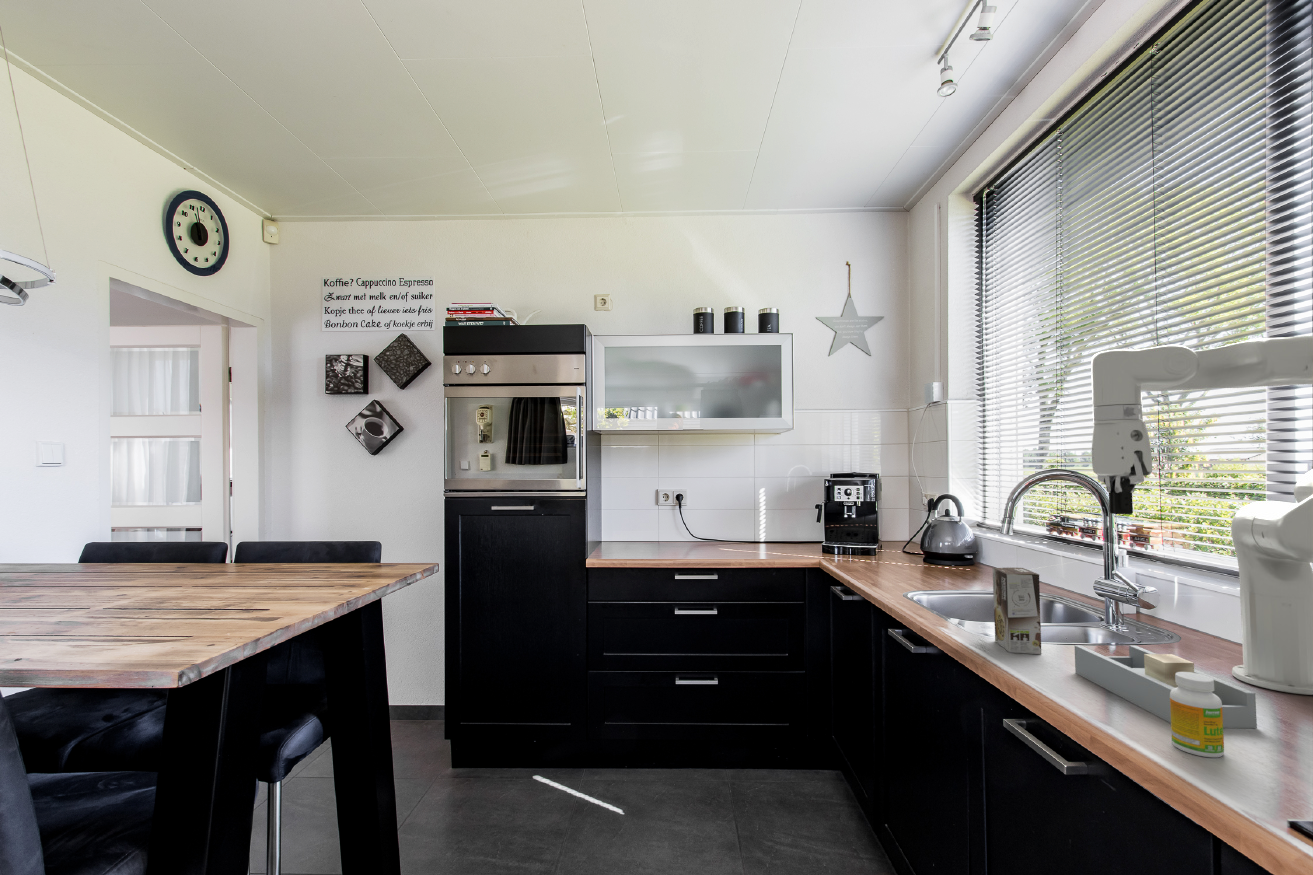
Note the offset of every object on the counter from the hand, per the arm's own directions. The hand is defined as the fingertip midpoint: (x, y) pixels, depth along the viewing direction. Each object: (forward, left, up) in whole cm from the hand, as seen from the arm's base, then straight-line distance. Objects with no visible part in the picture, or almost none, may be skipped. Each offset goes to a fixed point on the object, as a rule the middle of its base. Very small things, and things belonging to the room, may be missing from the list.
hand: (1121, 513), depth 117 cm
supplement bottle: (+13, +32, -29) cm, 45 cm away
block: (+5, +17, -26) cm, 31 cm away
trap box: (+4, +13, -29) cm, 32 cm away
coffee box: (+12, -15, -29) cm, 35 cm away
